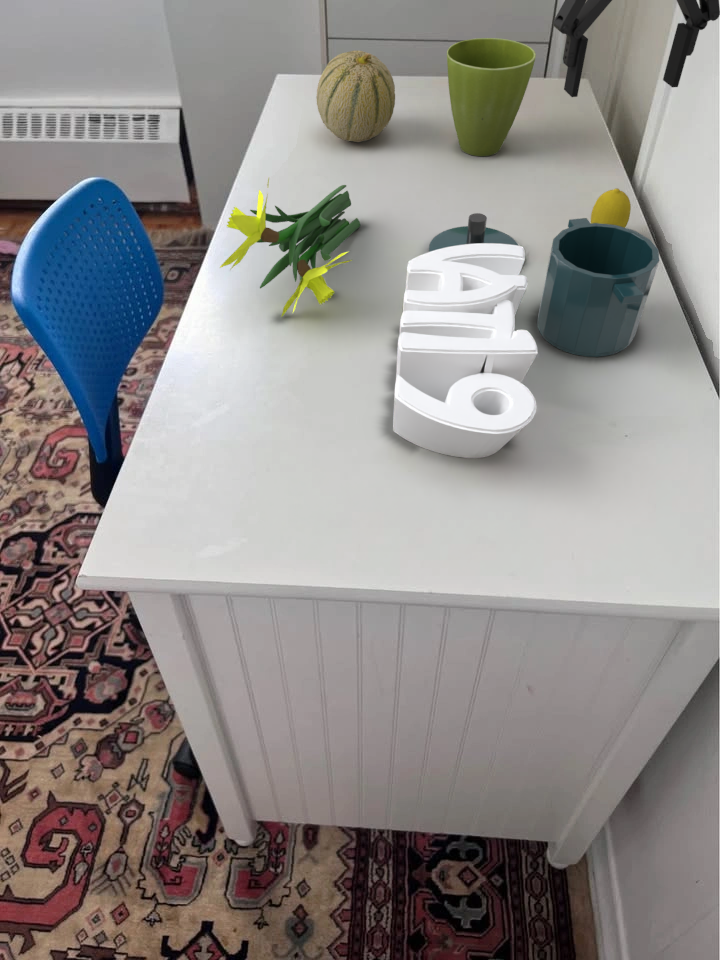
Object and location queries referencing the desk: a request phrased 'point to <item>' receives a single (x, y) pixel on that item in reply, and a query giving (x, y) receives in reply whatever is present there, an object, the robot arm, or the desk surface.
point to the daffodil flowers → (298, 240)
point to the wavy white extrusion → (463, 351)
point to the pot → (596, 288)
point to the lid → (470, 234)
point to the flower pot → (487, 90)
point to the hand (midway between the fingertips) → (620, 88)
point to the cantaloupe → (356, 96)
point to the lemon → (612, 208)
